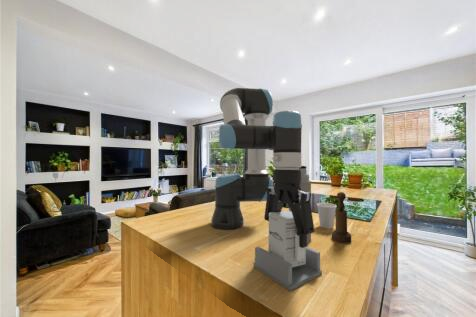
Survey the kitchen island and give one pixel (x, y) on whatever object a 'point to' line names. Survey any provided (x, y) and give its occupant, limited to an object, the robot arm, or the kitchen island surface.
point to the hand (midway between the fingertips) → (286, 252)
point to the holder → (288, 268)
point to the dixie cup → (326, 214)
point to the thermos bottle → (305, 189)
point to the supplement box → (283, 237)
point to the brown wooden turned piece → (341, 222)
